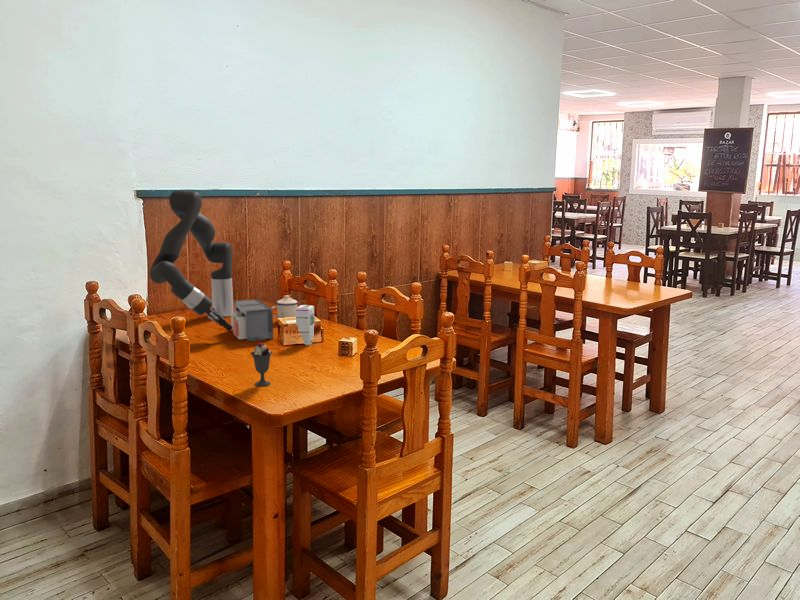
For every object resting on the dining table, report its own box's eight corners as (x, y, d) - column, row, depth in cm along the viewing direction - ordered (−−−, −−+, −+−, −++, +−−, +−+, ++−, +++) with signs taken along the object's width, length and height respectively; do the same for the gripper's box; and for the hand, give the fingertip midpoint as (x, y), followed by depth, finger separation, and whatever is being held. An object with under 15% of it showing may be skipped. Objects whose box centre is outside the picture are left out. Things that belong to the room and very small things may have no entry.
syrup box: (310, 345, 247) (309, 308, 244) (295, 344, 248) (295, 307, 246) (315, 341, 253) (314, 305, 250) (301, 340, 254) (300, 304, 251)
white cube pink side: (233, 336, 257) (232, 317, 256) (256, 334, 261) (255, 315, 260) (235, 339, 253) (235, 319, 251) (259, 337, 257) (258, 317, 255)
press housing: (235, 328, 272) (234, 300, 269) (259, 326, 276) (258, 298, 274) (247, 341, 251) (246, 311, 249) (273, 339, 256) (272, 309, 253)
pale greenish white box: (231, 330, 268) (230, 311, 266) (253, 328, 272) (253, 309, 270) (234, 333, 263) (233, 313, 261) (256, 331, 267) (256, 312, 265)
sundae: (253, 380, 205) (251, 334, 202) (274, 380, 205) (273, 334, 203) (250, 387, 198) (248, 340, 196) (272, 387, 199) (270, 340, 196)
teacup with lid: (295, 318, 291) (295, 293, 289) (299, 323, 283) (299, 297, 280) (269, 320, 287) (268, 294, 285) (272, 325, 279) (271, 298, 277)
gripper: (206, 296, 241) (240, 325, 248) (200, 290, 252) (233, 318, 260) (192, 311, 240) (227, 340, 247) (187, 304, 251) (220, 332, 259)
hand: (230, 329), depth 254 cm, fingers closed
